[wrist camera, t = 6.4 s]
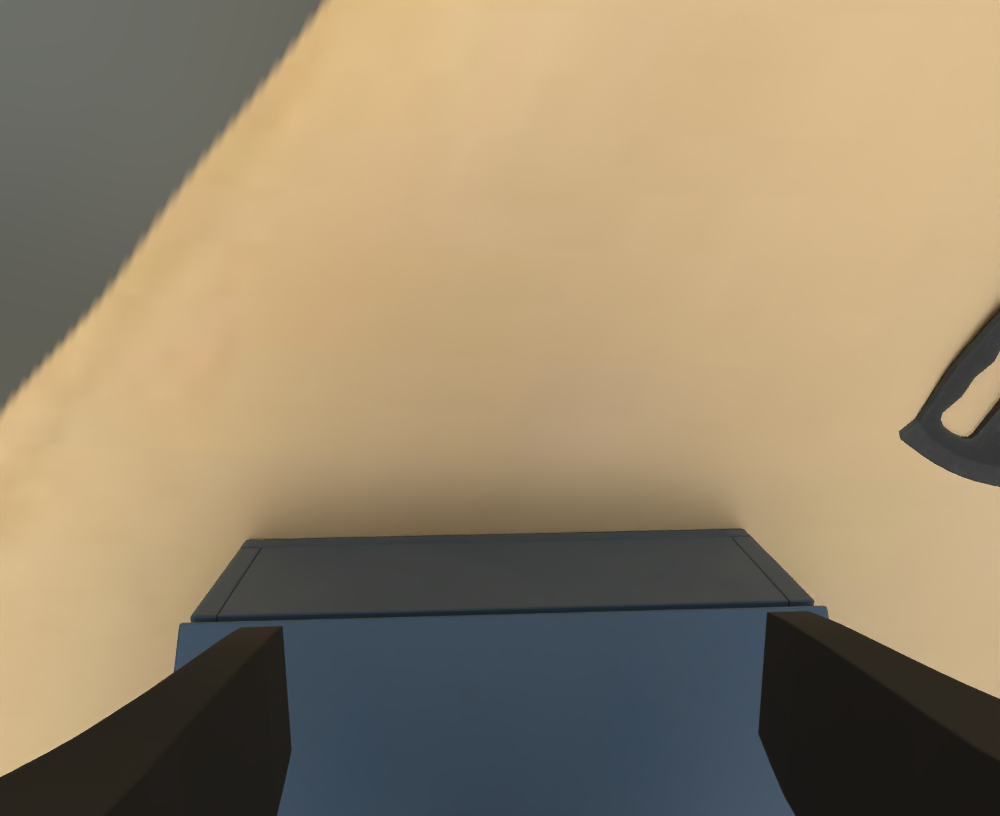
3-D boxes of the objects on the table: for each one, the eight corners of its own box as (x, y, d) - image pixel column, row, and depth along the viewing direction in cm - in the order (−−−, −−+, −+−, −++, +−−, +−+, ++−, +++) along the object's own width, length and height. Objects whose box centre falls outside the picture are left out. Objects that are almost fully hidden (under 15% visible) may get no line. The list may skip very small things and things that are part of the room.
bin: (719, 912, 25) (775, 1058, 21) (276, 932, 24) (234, 1087, 20) (744, 528, 22) (815, 600, 18) (246, 539, 22) (189, 616, 17)
